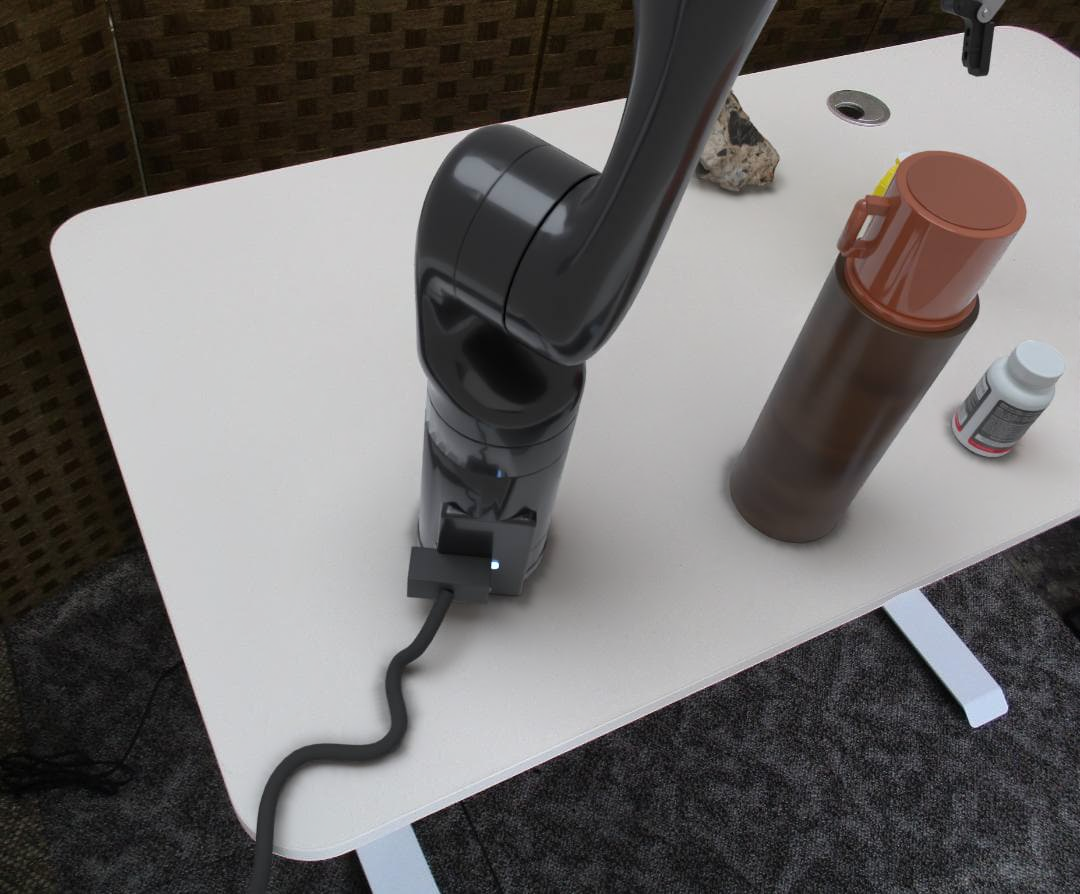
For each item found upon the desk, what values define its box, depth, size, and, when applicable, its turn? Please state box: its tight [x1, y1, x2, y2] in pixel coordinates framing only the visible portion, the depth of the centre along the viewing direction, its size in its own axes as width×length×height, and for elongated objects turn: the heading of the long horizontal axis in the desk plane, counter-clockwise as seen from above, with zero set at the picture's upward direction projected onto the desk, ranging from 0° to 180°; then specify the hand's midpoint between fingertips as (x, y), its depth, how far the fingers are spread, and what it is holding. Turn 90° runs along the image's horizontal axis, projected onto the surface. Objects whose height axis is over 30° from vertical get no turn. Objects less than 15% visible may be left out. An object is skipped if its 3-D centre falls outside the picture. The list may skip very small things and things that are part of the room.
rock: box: [694, 88, 781, 192], centre depth 100 cm, size 9×7×10 cm
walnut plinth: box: [729, 236, 981, 544], centre depth 69 cm, size 9×9×23 cm
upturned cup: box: [836, 150, 1027, 332], centre depth 57 cm, size 8×9×7 cm
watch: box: [871, 151, 914, 197], centre depth 100 cm, size 6×3×6 cm, turn 126°
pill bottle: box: [951, 339, 1066, 458], centre depth 81 cm, size 5×5×10 cm
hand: (1034, 69), depth 74 cm, fingers open, 8 cm apart
